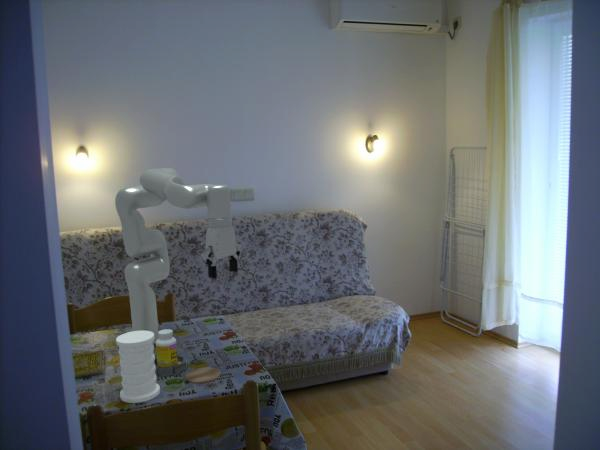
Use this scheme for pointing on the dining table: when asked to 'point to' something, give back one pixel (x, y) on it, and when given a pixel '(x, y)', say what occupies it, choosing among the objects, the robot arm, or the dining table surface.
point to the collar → (172, 367)
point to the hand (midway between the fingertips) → (223, 274)
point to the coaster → (203, 375)
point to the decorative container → (137, 366)
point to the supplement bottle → (166, 349)
